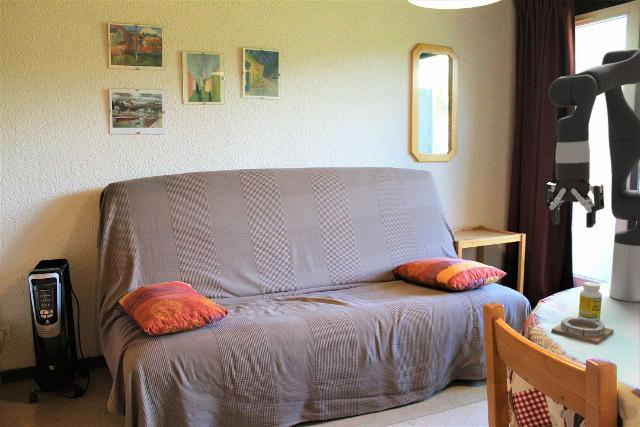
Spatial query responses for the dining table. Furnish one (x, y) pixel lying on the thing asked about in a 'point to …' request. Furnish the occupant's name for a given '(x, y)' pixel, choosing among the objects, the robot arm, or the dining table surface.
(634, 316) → the dining table surface
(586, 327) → the collar
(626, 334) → the dining table surface
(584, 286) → the supplement bottle
